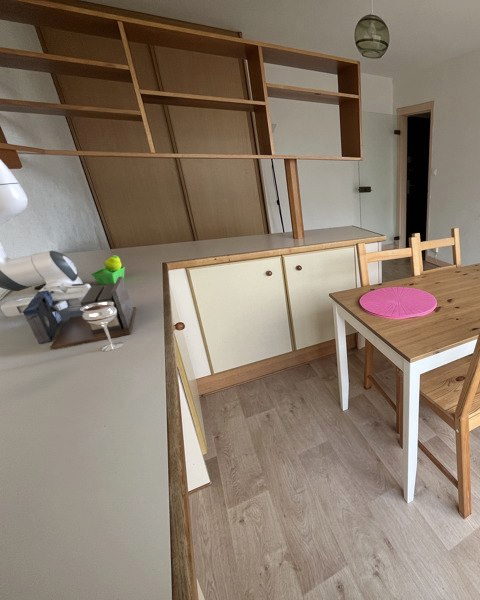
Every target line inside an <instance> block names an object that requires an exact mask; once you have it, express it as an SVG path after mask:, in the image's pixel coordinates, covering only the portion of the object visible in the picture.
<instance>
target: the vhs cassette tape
mask: <svg viewBox="0 0 480 600" xmlns="http://www.w3.org/2000/svg"><path fill="white" fill-rule="evenodd" d="M39 291H40V290H39ZM39 291H37V293H36V294H35V295H34V296H35V297H34V298H33V299H32V300H31V301H30V303H29V304H28V307H27V308H25V310H24V311H23V313H24V315H23V316H24V317H25V319H26V321H27V323H28V325H29V327H30V329H31V331H32V333H33V334H34V337H35V338H36V341H37V343H38V344H39V345H40V344H44V343H45V344H46V343H49V342H53V340H54V337H55V335H56V332H57V330H58V329H59V326H60V323H61V321H62V316H61V314H60V311H57V312H52V309H51V306H52V305H54V303H53V302H52V296H51V294H50V292H49V291H48V290H47V291H40V292H39Z"/></svg>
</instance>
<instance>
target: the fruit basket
mask: <svg viewBox="0 0 480 600" xmlns="http://www.w3.org/2000/svg"><path fill="white" fill-rule="evenodd" d="M103 266H104V267H103V268H101V269H98V270H97V271H95V272H93V273H91V276H92V277H93V278H94V279H95V281H96V282H97V283H98V285H104V286H106V284H114V283H116V281H117V279H118V277H121V276H122V277H123V279H125V269H126V267H125V266H122V262H121V258H120V257H119V256H118V255H116V254H115V255H113V254H112V255H111V256H110V257H109V258H108V259H106V260H105V261H104V263H103Z"/></svg>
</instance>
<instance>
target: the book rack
mask: <svg viewBox="0 0 480 600" xmlns="http://www.w3.org/2000/svg"><path fill="white" fill-rule="evenodd" d="M90 286H91V288H90V289H89V291H88V292H87V294H86V295H85V296H84V298H83V299H82V301H81V302H80V303H81V306H80V307H81V308H82V307H83V306H86V305H89V304H93V303H97V302H106V301H110V302H114V307H115V308H116V309H117V316H116V317H115V319H114V320H113V321H112V322H110V323H108V325H107V328H108V332H109V335H110V338H111V339H114V338H115V339H116V338H119V337H124V336H125V337H126V336H130V335H132V330H133V326H134V323H135V322H134V321H135V319H136V314H137V310H138V309H137V306H132V302H131V299H130V296H129V292H128V290H127V289H128V288H127V286H126V283H125V279H124V278H123V277H122V276H121V277H118V279H117V281H116V283H114V284H105V285H100V284H98V285H90ZM104 340H108V337H107V335H106V333H105V331H104V328H103V326H100V325H92V324H90V323H87V322H86V321H85V320H84V319H83V317H82V315H77V316H70V317H69V319H68V320H67V321H66V322H65V325H64V326H63V327H62V329H61V330H60V331H59V333H58V335H57V336H56V338H55V339H54V341H52V344H51V345H50V350H51V351H53V350H52V349H54V350H58V348H59V349H64V348H69V347H74V346H79V345H83V343H85V344H90V343H94V342H99V341H104ZM89 342H90V343H89ZM78 344H79V345H78ZM73 345H74V346H73ZM68 346H69V347H68ZM63 347H64V348H63Z"/></svg>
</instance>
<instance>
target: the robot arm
mask: <svg viewBox="0 0 480 600" xmlns="http://www.w3.org/2000/svg"><path fill="white" fill-rule="evenodd" d="M28 204H29V199H28V196H27V193H26V192H25V190H24V188H23V187H22V185H21V184H20V182H19V181H18V179H17V178H16V176H15V175H14V174H13V172H12V171H11V170H10V168H9V167H8V166H7V165H6V164H5V163H4V162H3V160H2V159H1V158H0V227H1V226H2V225H3V224H5V223H6V222H9V221H10V220H12V219H13V218H16V217H18V216H19V215H20V214H22V213H23V212H24V211H26V208H27V207H28ZM45 283H46V285H45V286H44V287H43V288H42V289H39V291H38V292H40V291H47V290H48V291H49V292H50V294H51V296H52V302H53V303H54V305H52V306H51V309H52V312H57V311H59V312H60V311H65V310H68V309H71V308H72V309H73V308H79V307H82V306H81V303H80V302H81V301H82V299H83V298H84V296H85V295H86V294H87V292H88V291H89V289H90V288H91V286H92V285H91V284H90V283H83V281H82V279H81V278H80V277H79V271H78V268H77V266H76V265H75V263H74V262H73V261H72V259H71V258H70V257H68V256H67V255H65V254H64V253H61V252H59V251H56V250H47V251H42V252H38V253H33V254H30V255H25V256H20V257H17V258H9V257H8V255H7V253H6V250H5V248H4V246H3V244H2V241H1V240H0V289H3V290H7V291H12V292H20V291H24V290H26V289H29V288H32V287H36V286H39V285H42V284H45ZM34 297H35V295H34V296H25V297H20V298H14V299H10V300H8V301H7V302H5V303H3V304H2V305H1V306H0V310H1V312H2V314H3V316H5V317H7V318H10V317H11V318H12V317H18V316H24V313H23V311H24V310H25V308H27V307H28V304H29V303H30V301H31V300H32V299H33V298H34Z"/></svg>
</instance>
